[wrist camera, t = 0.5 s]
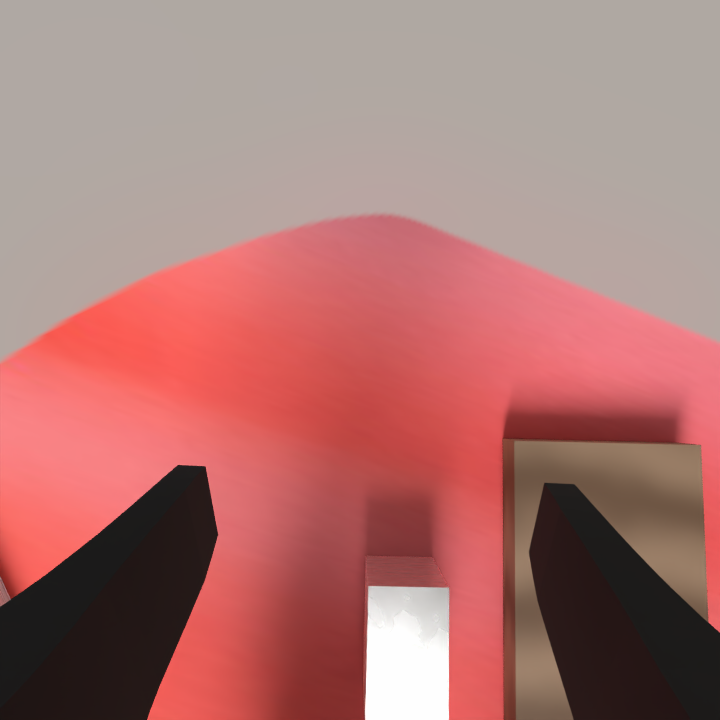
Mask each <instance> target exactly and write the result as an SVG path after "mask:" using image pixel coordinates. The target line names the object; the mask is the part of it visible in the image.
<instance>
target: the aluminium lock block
mask: <svg viewBox="0 0 720 720" xmlns="http://www.w3.org/2000/svg"><path fill="white" fill-rule="evenodd" d="M363 694H364V720H448V703H449V587H448V585H447V583H446V581H445V579H444V577H443V575H442V573H441V572H440V570H439V568H438V566H437V564H436V562H435V560H434V559H433V557H407V556H366V567H365V614H364V661H363Z"/></svg>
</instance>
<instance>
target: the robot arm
mask: <svg viewBox="0 0 720 720" xmlns="http://www.w3.org/2000/svg"><path fill="white" fill-rule="evenodd" d="M217 536H218V532H217V527H216V521H215V516H214V510H213V505H212V500H211V494H210V489H209V483H208V478H207V472H206V467H205V466H186V465H178V466H177V467H175V468H174V469H173V470H172V471H171V472H169V473H168V474H167V475H166V476H165V477H164V478H162V479H161V480H160V481H159V482H158V483H157V484H156V485H154V486H153V487H152V488H151V489H150V490H149V491H148V492H146V493H145V494H144V495H143V496H142V497H141V498H140V499H138V500H137V501H136V502H135V503H134V504H133V505H132V506H130V507H129V508H128V509H127V510H126V511H125V512H124V513H122V514H121V515H120V516H119V517H118V518H116V519H115V520H114V521H113V522H112V523H111V524H109V525H108V526H107V527H106V528H105V529H103V530H102V531H101V532H100V533H99V534H98V535H96V536H95V537H94V538H92V539H91V540H90V541H89V542H87V543H86V544H85V545H84V546H82V547H81V548H80V549H78V550H77V551H76V552H75V553H73V554H72V555H71V556H69V557H68V558H67V559H66V560H64V561H63V562H62V563H61V564H59V565H58V566H57V567H55V568H54V569H53V570H52V571H50V572H49V573H48V574H46V575H45V576H43V577H42V578H41V579H39V580H38V581H37V582H35V583H34V584H32V585H31V586H30V587H28V588H27V589H25V590H24V591H23V592H21V593H20V594H18V595H17V596H15V597H14V598H12V599H11V600H9V601H8V602H6V603H5V604H3V605H2V606H0V720H147V718H148V715H149V712H150V709H151V707H152V704H153V701H154V699H155V696H156V694H157V691H158V689H159V686H160V684H161V681H162V679H163V677H164V674H165V672H166V670H167V667H168V665H169V663H170V660H171V658H172V656H173V653H174V651H175V649H176V647H177V644H178V642H179V640H180V637H181V635H182V633H183V630H184V628H185V626H186V623H187V621H188V619H189V616H190V614H191V612H192V609H193V607H194V605H195V602H196V600H197V597H198V595H199V593H200V590H201V588H202V585H203V583H204V581H205V578H206V574H207V571H208V568H209V564H210V561H211V558H212V554H213V551H214V547H215V543H216V540H217ZM529 557H530V563H531V569H532V575H533V580H534V586H535V591H536V596H537V601H538V604H539V608H540V611H541V615H542V618H543V621H544V625H545V628H546V631H547V635H548V638H549V641H550V644H551V648H552V651H553V654H554V657H555V661H556V664H557V667H558V670H559V674H560V677H561V680H562V683H563V687H564V690H565V693H566V696H567V700H568V703H569V706H570V709H571V713H572V716H573V719H574V720H720V633H719V632H718V631H717V630H716V629H715V628H714V627H713V626H712V625H710V624H709V623H708V622H707V621H706V620H705V619H704V618H703V617H702V616H701V615H700V614H698V613H697V612H696V611H695V610H694V609H693V608H692V607H691V606H690V605H689V604H688V603H687V602H686V601H685V600H684V599H683V598H682V597H681V596H679V595H678V594H677V593H676V592H675V591H674V590H673V589H672V588H671V587H670V586H669V585H668V584H667V583H666V582H665V581H664V580H663V579H662V578H661V577H660V576H659V575H658V574H657V573H656V572H655V571H654V570H653V569H652V568H651V567H650V566H649V565H648V564H647V563H646V562H645V560H644V559H643V558H642V557H641V556H640V555H639V554H638V553H637V552H636V551H635V550H634V549H633V548H632V547H631V546H630V545H629V544H628V543H627V542H626V540H625V539H624V538H623V537H622V536H621V535H620V534H619V533H618V532H617V531H616V530H615V528H614V527H613V526H612V525H611V524H610V523H609V522H608V521H607V520H606V519H605V517H604V516H603V515H602V514H601V513H600V512H599V511H598V510H597V509H596V507H595V506H594V505H593V504H592V503H591V502H590V501H589V500H588V499H587V497H586V496H585V495H584V494H583V493H582V492H581V491H580V490H579V489H578V488H577V486H576V485H575V484H562V483H544V486H543V490H542V495H541V499H540V504H539V508H538V513H537V517H536V522H535V526H534V531H533V535H532V539H531V544H530V548H529Z"/></svg>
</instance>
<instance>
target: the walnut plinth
mask: <svg viewBox="0 0 720 720" xmlns="http://www.w3.org/2000/svg"><path fill="white" fill-rule="evenodd" d="M544 483H562V484H575V485H576V486H577V488H578V489H579V490H580V491H581V492H582V493H583V494H584V495H585V496H586V497H587V499H588V500H589V501H590V502H591V503H592V504H593V505H594V506H595V507H596V509H597V510H598V511H599V512H600V513H601V514H602V515H603V516H604V517H605V519H606V520H607V521H608V522H609V523H610V524H611V525H612V526H613V527H614V528H615V530H616V531H617V532H618V533H619V534H620V535H621V536H622V537H623V538H624V539H625V540H626V542H627V543H628V544H629V545H630V546H631V547H632V548H633V549H634V550H635V551H636V552H637V553H638V554H639V555H640V556H641V557H642V558H643V559H644V560H645V562H646V563H647V564H648V565H649V566H650V567H651V568H652V569H653V570H654V571H655V572H656V573H657V574H658V575H659V576H660V577H661V578H662V579H663V580H664V581H665V582H666V583H667V584H668V585H669V586H670V587H671V588H672V589H673V590H674V591H675V592H676V593H677V594H678V595H679V596H681V597H682V598H683V599H684V600H685V601H686V602H687V603H688V604H689V605H690V606H691V607H692V608H693V609H694V610H695V611H696V612H697V613H698V614H700V615H701V616H702V617H703V618H704V619H705V620H706V621H707V622H708V603H707V579H706V555H705V531H704V507H703V483H702V459H701V445H695V444H685V443H673V442H630V441H587V440H544V439H503V614H504V720H574V719H573V716H572V713H571V709H570V706H569V703H568V700H567V696H566V693H565V690H564V687H563V683H562V680H561V677H560V674H559V670H558V667H557V664H556V661H555V657H554V654H553V651H552V648H551V644H550V641H549V638H548V635H547V631H546V628H545V625H544V621H543V618H542V615H541V611H540V608H539V604H538V601H537V596H536V591H535V586H534V580H533V575H532V569H531V563H530V557H529V548H530V544H531V539H532V535H533V531H534V526H535V522H536V517H537V513H538V508H539V504H540V499H541V495H542V490H543V486H544Z"/></svg>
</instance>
